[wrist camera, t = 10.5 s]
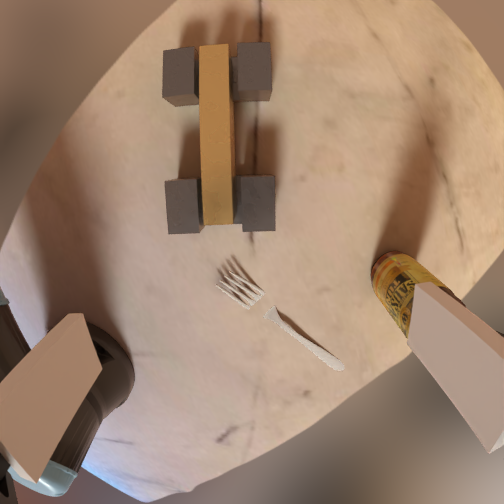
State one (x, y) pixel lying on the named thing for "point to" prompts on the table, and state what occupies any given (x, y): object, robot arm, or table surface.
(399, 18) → the table surface
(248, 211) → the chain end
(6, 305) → the robot arm
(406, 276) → the sauce bottle
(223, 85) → the link bar
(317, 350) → the fork
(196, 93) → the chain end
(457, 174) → the table surface
